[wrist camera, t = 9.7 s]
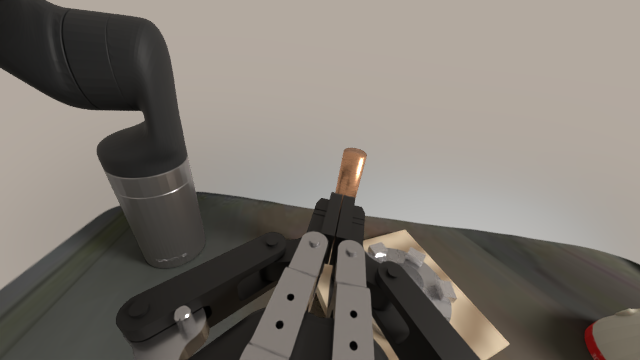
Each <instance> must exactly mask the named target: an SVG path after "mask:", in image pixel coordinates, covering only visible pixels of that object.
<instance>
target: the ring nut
mask: <svg viewBox="0 0 640 360" xmlns="http://www.w3.org/2000/svg"><path fill="white" fill-rule="evenodd" d="M366 156H367V155H366V153H365V152H364V151H362V150H360V149H356V148H347V149H345V150H344V153H343V158H342V163H341V168H340V173H339V177H338V183H337V187H336V192H335V193H338V194H343V196H344V195H347V196H352V197H355V198H356V194H357V190H358V187H359V183H360V179H361V175H362V172H363V168H364V164H365V160H366ZM343 196H342V200H343ZM341 204H342V201H341ZM340 209H341V207H340ZM339 213H340V212H339ZM333 242H334V241H333ZM332 247H333V245H332ZM365 252H366V251H365ZM366 253H367V255H368V256H369V257H371V258H372V259H374V260H375V261H377V262H379V263H382V262H384V261H392V262H395V263H397V264H399V265H400V266H401V267H402V268H403V269H404V270H405V271H406V272H407V273H408V275H409V276H410V277H411V278H412V279H413V281H414V282H415V283H416V284H417V285H418V286H419V288H420V289H421V290H422V291H423V292H424V293H425V295H426V296H427V297H428V298H429V299H430V301H431V302H432V303H433V304H434V305H435V306H436V308H437V309H438V310H439V311H440V312H441V313H442V315H443V316H444V317H445V318H446V319H447V321H448V322H450V319H451V313H452V306H451V303H454V302H455V300H456V299H457V297H456V294H455V292H454V289H453V287H452V284H451V282H450V281H444V280H441V279H440V278H439V276H438V275H437V274H436V273H435V272H434V271H433V270H432V269H431V268H430V267H429V266H428V265H427V264H426V263H425V262H424V259H425V257H426V255H425V254H423V253H421V252H419V251H417V250H416V249H414V248H412V247H410V249H409V251H408V253H407V252H405V251H402V250H398V249H394V248H386V247H385V245H384V244H383V243H382V242H380V243H376V244H373V245H370V246H369V247H368V252H366ZM372 327H373V330H374V331H375V332H377V333H378V334H379V335H381V336H382V337H384V338H385V336H384V335H383V333H382V331H381V330H380V328H379V327H378V325H377V323H376V322H375V320H374V319H373V317H372ZM385 339H386V338H385Z"/></svg>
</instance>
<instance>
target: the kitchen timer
mask: <svg viewBox="0 0 640 360" xmlns="http://www.w3.org/2000/svg"><path fill="white" fill-rule="evenodd" d="M585 342H586V345H587V348H588V350H589V352H590V354H591V356H592V357H593V359H594V360H640V309H630V308H629V309H627V310H624V311H620V312H617V313H615V315H613V316H608V317H605V318H602V319H599V320H597V321H596V322H594V323H593V324H591V325H590V326H589V327H588V328H587V329H586V330H585Z"/></svg>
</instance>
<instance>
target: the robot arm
mask: <svg viewBox="0 0 640 360" xmlns="http://www.w3.org/2000/svg"><path fill="white" fill-rule="evenodd" d="M0 68H2V69H3V70H5V71H7V72H8V73H10V74H12V75H13V76H15V77H17V78H19V79H20V80H22V81H24V82H25V83H27V84H29V85H30V86H32V87H34V88H35V89H37V90H39V91H41V92H42V93H44V94H46V95H48V96H50V97H51V98H53V99H55V100H57V101H60V102H62V103H65V104H67V105H70V106H73V107H77V108H81V109H88V110H120V111H122V110H123V111H142V112H143V114H144V118H145V121H144V122H142V123H140V124H138V125H135V126H133V127H130V128H126V129H123V130H120V131H118V132H115V133H113V134H111V135H109V136H107V137H106V138H104V139H103V140H102V141H101V142H100V143H99V144H98V146H97V155H98V158H99V160H100V162H101V165H102V167H103V169H104V171H105V173H106V176H107V177H108V180H109V182H110V184H111V186H112V189H113V190H114V193H115V195H116V197H117V199H118V201H119V203H120V206H121V208H122V210H123V212H124V214H125V216H126V219H127V221H128V223H129V225H130V227H131V229H132V232H133V234H134V236H135V238H136V240H137V243H138V245H139V247H140V249H141V251H142V253H143V256H144V258H145V260H146V262H147V263H149V264H150V265H151V266H154V267H157V268H172V267H177V266H180V265H183V264H185V263H187V262H189V261H190V260H192V259H193V258H195V257H196V256H197V255H198V254H199V253H200V252H201V251H202V249H203V247H204V245H205V241H206V240H205V233H204V228H203V224H202V219H201V214H200V210H199V205H198V201H197V196H196V192H195V187H194V182H193V178H192V174H191V169H190V165H189V160H188V155H187V150H186V146H185V141H184V136H183V130H182V125H181V120H180V116H179V110H178V104H177V98H176V92H175V84H174V77H173V71H172V65H171V60H170V56H169V52H168V48H167V45H166V42H165V40H164V38H163V36H162V34H161V32H160V31H159V29H158V28H157V27H156V26H155V24H153V23H152V22H151V21H149V20H147V19H144V18H138V17H133V16H126V15H119V14H110V13H102V12H95V11H87V10H79V9H71V8H63V7H60V6H57V5H54V4H52V3H50V2H47V1H46V0H0ZM342 196H343V194H338V193H334V192H332V193H331V196H330V200H328V199H323V198H321V199H320V200H319V201H318V202H317V203H316V206H315V209H314V212H313V215H312V218H311V221H310V224H309V227H308V230H307V232H306V234H304V236H303V237H301V238H299V239H294V240H285V238H284V236H283V235H281V234H279V233H276V232H269V233H266V234H264V235H262V236H260V237H258V238H255V239H253V240H251V241H249V242H247V243H245V244H243V245H241V246H239V247H237V248H235V249H232V250H230V251H228V252H226V253H224V254H222V255H220V256H218V257H216V258H214V259H211V260H209V261H207V262H205V263H203V264H201V265H199V266H197V267H195V268H193V269H190V270H188V271H186V272H184V273H182V274H180V275H178V276H176V277H174V278H172V279H170V280H167V281H165V282H163V283H161V284H159V285H157V286H155V287H153V288H151V289H149V290H146V291H144V292H142V293H140V294H138V295H136V296H134V297H132V298H131V299H129V300H128V301H127V302H126V303H125V304H124V305H123V306H122V307H121V308H120V310H119V312H118V314H117V316H116V324H117V326H118V328H119V329H120V330H121V332H122V333H123V335H124V338H125V339H126V340H127V342H128V343H129V344H130V346H131V347H132V349H133V354H134V359H135V360H389V359H388V357H387V355H386V353H385V352H384V350H383V349H382V348H381V346H380V345H379V344H378V343H377V342H376V340H374V339H373V327H372V317H373V319H374V320H375V322H376V323H377V325H378V327H379V328H380V330H381V331H382V333H383V335H384V336H385V338H386V339H387V341H388V343H389V344H390V346H391V347H392V349H393V351H394V352H395V354H396V355H397V357H398V359H399V360H481V359H480V358H479V357H478V356H477V355H476V353H475V352H474V351H473V350H472V349H471V348H470V346H469V345H468V344H467V343H466V342H465V341H464V339H463V338H462V337H461V336H460V335H459V333H458V332H457V331H456V330H455V329H454V328H453V326H452V325H451V324H450V323H449V322H448V321H447V319H446V318H445V317H444V316H443V315H442V313H441V312H440V311H439V310H438V309H437V308H436V306H435V305H434V304H433V303H432V302H431V301H430V299H429V298H428V297H427V296H426V295H425V293H424V292H423V291H422V290H421V289H420V288H419V286H418V285H417V284H416V283H415V282H414V281H413V279H412V278H411V277H410V276H409V275H408V273H407V272H406V271H405V270H404V269H403V268H402V267H401V266H400V265H399V264H397V263H395V262H392V261H384V262H382V263H379V262H377V261H375V260H374V259H372V258H371V257H369V256H368V255H367V253H366V252H365V250H364V247H363V238H364V220H365V213H364V211H363V208H362V207H359V206H355V205H354V203H355V197H352V196H347V195H344V196H343V200H342ZM341 201H342V204H341ZM340 207H341V209H340ZM339 212H340V213H339ZM333 241H334V242H333ZM332 245H333V248H332ZM331 250H332V253H331ZM330 254H331V258H330ZM329 258H330V263H329V265H332V266H333V268H332V273H331V277H330V284H329V295H328V305H327V314H326V318H319V317H317V316H315V315H313V314H311V313H310V309H311V306H312V303H313V300H314V296H315V293H316V290H317V287H318V283H319V280H320V277H321V274H322V273H323V269H324V265H325V264H328V262H329ZM276 285H277V286H276ZM275 286H276V288H275V290H274V292H273V295H272V297H271V299H270V301H269V303H268V305H267V307H266V308H263V309H260V310H257V311H255V312H253V313H251V314H250V315H248V316H247V317H245V318H244V319H243V320H241V321H240V322H239V323H237V324H236V325H234V326H233V327H232V328H230V329H229V330H227V331H226V332H225V333H223V334H222V335H221V336H219V337H218V338H216V339H215V340H214V341H212V342H211V343H210V344H208V345H207V346H205V347H204V348H203V349H201V350H200V351H198V352H197V353H196V354H194V353H195V352H196V351H197V350H198V349H199V348H200V347H201V346H202V345H203V344H204V343H205V342H206V340H207V338H208V335H209V330H210V329H209V328H211V327H213V326H214V325H216V324H217V323H219V322H220V321H222V320H223V319H225V318H227V317H228V316H230V315H231V314H233V313H234V312H236V311H237V310H239V309H241V308H242V307H244V306H245V305H247V304H248V303H250V302H251V301H253V300H255V299H256V298H258V297H259V296H261V295H262V294H264V293H265V292H267V291H268V290H270V289H272V288H273V287H275ZM193 354H194V355H193ZM192 355H193V356H192ZM191 356H192V357H191Z"/></svg>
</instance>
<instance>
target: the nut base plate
mask: <svg viewBox="0 0 640 360" xmlns="http://www.w3.org/2000/svg"><path fill="white" fill-rule="evenodd" d="M380 242H382V243H383V244H384V245H385V247H386V248H394V249H398V250H402V251H405V252H407V253H408V251H409V249H410V247H412V248H414V249H416V250H417V251H419V252H421V253H423V254H425V255H426V257H425V259H424V262H425V263H426V264H427V265H428V266H429V267H430V268H431V269H432V270H433V271H434V272H435V273H436V274H437V275H438V276H439V278H440V279H441V280H444V281H450V282H451V284H452V287H453V289H454V292H455V294H456V297H457V299H456V300H455V302H454V303H451V306H452V313H451V319H450V322H449V323H450V324H451V325H452V326H453V328H454V329H455V330H456V331H457V332H458V333H459V335H460V336H461V337H462V338H463V339H464V341H465V342H466V343H467V344H468V345H469V346H470V348H471V349H472V350H473V351H474V352H475V353H476V355H477V356H478V357H479V358H480V359H481V360H487V359H489V358H490V357H492V356H494V355H495V354H497V353H498V352H500V351H501V350H503V349H504V348H505V347H507V346H508V345H509V343H508V341H507V340H506V339H505V338H504V337H503V336H502V335H501V334H500V333H499V332H498V331H497V329H496V328H495V327H494V326H493V325H492V324H491V323H490V322H489V321H488V320H487V319H486V317H485V316H484V315H483V314H482V313H481V312H480V311H479V310H478V309H477V308H476V307H475V305H474V304H473V303H472V302H471V301H470V300H469V299H468V298H467V297H466V296H465V295H464V293H463V292H462V291H461V290H460V289H459V288H458V287H457V286H456V285H455V284H454V283H453V282H452V280H451V279H450V278H449V277H448V276H447V275H446V274H445V273H444V272H443V271H442V270H441V268H440V267H439V266H438V265H437V264H436V263H435V262H434V261H433V260H432V259H431V258H430V256H429V255H428V254H427V253H426V252H425V251H424V250H423V249H422V248H421V247H420V246H419V244H418V243H417V242H416V241H415V240H414V239H413V238H412V237H411V236H410V235H409V234H408V232H407V231H406V230H402V231H398V232H394V233H391V234H387V235H383V236H379V237H375V238H371V239H368V240H364V241H363V247H364V250H365V251H366V252H368V247H369V246H370V245H373V244H376V243H380ZM331 253H332V250H331ZM330 258H331V254H330ZM330 258H329V262H328V264H325V265H324V269H323V273H322V274H321V277H320V280H319V283H318V287H317V290H316V294H317V297H318V299H319V301H320V304H321V306H322V309H323V311H324V314H325V316H326V314H327V305H328V295H329V284H330V277H331V273H332V268H333V266H332V265H329V263H330ZM373 339H374V340H376V342H377V343H378V344H379V345H380V346H381V348H382V349H383V350H384V352H385V353H386V355H387V357H388V359H389V360H399V359H398V357H397V355H396V354H395V352H394V351H393V349H392V347H391V346H390V344H389V343H388V341H387V339H385V338H384V337H382V336H381V335H379V334H378V333H377V332H375V331H374V330H373Z"/></svg>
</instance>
